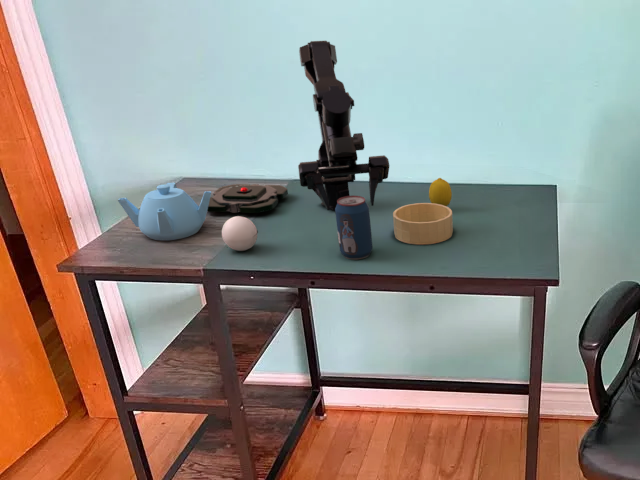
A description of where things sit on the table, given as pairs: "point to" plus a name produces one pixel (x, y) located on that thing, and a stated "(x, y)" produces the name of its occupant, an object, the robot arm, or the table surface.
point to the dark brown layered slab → (246, 198)
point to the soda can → (353, 227)
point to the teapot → (168, 213)
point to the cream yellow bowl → (423, 223)
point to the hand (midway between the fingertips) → (350, 207)
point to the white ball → (239, 233)
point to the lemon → (440, 192)
